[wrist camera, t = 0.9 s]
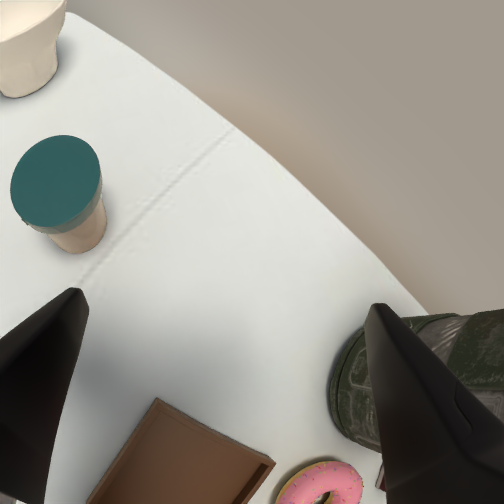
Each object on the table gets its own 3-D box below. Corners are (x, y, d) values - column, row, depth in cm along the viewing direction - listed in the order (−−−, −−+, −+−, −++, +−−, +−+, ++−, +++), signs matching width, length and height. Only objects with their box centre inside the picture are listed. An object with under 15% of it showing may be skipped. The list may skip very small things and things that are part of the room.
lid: (58, 255, 18) (52, 249, 16) (2, 198, 17) (-7, 189, 15) (121, 180, 20) (120, 169, 18) (62, 133, 19) (58, 120, 17)
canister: (426, 398, 36) (603, 404, 10) (345, 465, 30) (552, 537, 4) (401, 299, 37) (606, 255, 11) (306, 356, 31) (603, 365, 5)
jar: (80, 266, 25) (53, 240, 16) (39, 228, 24) (3, 189, 16) (118, 218, 27) (111, 173, 19) (77, 183, 26) (58, 129, 18)
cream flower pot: (72, 94, 28) (63, 22, 18) (-19, 124, 23) (-51, 65, 13) (73, 34, 29) (72, -29, 19) (-6, 58, 24) (-22, 2, 14)
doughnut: (309, 536, 26) (326, 551, 22) (248, 509, 25) (263, 528, 21) (363, 475, 30) (384, 485, 26) (313, 440, 29) (334, 452, 25)
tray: (195, 548, 21) (199, 558, 20) (85, 501, 19) (83, 511, 18) (268, 456, 27) (276, 463, 25) (156, 397, 25) (158, 402, 23)
